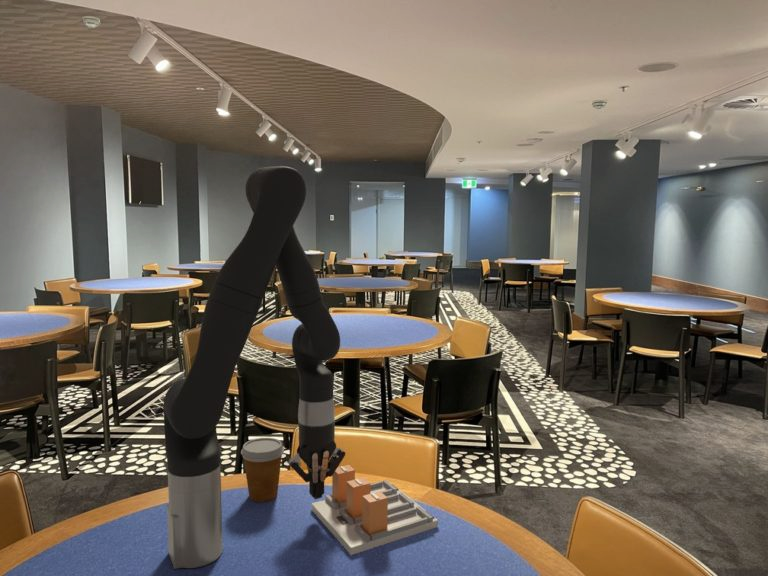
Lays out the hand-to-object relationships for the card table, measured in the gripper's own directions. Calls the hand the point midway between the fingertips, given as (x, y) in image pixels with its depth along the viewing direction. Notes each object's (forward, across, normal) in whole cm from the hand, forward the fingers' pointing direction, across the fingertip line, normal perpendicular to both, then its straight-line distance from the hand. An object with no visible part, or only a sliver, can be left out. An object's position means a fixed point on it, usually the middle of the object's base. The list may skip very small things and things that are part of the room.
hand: (317, 496), depth 118 cm
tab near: (+2, +6, -14) cm, 16 cm away
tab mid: (+2, +6, -7) cm, 10 cm away
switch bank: (+4, +10, -7) cm, 13 cm away
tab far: (+2, +6, 0) cm, 7 cm away
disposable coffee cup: (+4, -7, +14) cm, 16 cm away
